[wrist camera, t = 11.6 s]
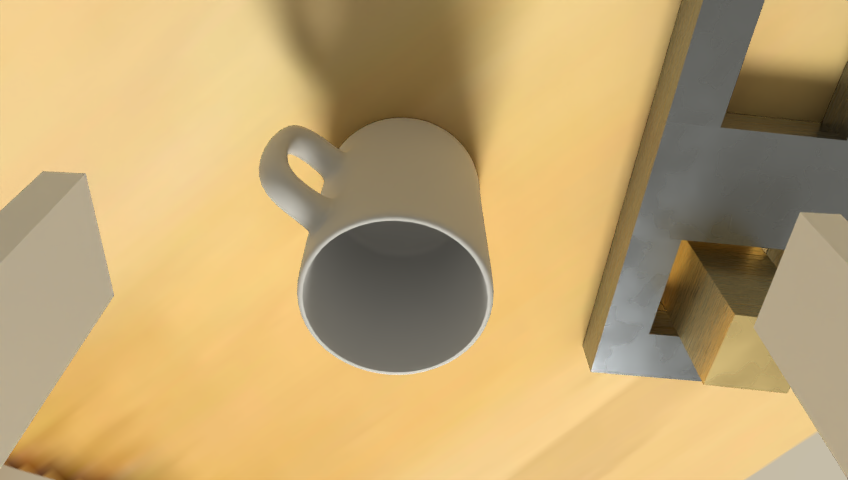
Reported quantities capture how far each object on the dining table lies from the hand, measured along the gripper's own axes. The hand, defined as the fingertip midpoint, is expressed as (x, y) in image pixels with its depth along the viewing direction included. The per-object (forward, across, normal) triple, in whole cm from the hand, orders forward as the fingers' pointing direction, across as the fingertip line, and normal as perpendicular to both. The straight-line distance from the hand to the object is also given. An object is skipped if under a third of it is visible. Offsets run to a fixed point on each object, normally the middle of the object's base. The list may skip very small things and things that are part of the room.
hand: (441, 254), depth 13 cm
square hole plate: (+23, +18, -9) cm, 30 cm away
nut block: (+23, +17, -15) cm, 33 cm away
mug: (+23, -2, -10) cm, 25 cm away
